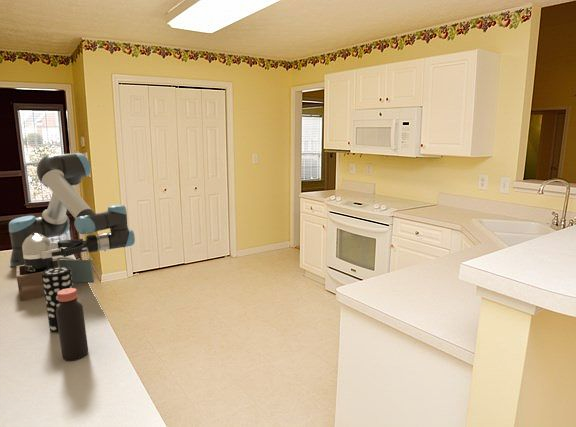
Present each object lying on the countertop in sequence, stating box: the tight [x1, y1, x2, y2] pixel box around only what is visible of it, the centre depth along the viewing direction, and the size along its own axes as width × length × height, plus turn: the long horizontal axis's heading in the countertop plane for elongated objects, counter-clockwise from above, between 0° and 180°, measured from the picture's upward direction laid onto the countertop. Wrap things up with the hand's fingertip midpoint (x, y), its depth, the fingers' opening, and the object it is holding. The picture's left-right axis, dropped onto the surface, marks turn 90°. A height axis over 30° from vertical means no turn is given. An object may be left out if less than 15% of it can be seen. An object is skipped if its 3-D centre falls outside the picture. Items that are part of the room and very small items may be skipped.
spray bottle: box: [22, 232, 54, 274], centre depth 165 cm, size 10×10×25 cm
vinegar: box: [56, 287, 89, 362], centre depth 115 cm, size 7×7×20 cm
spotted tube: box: [42, 266, 74, 334], centre depth 133 cm, size 8×8×20 cm
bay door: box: [58, 258, 95, 284], centre depth 176 cm, size 16×1×10 cm, turn 79°
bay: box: [15, 259, 59, 302], centre depth 166 cm, size 16×15×10 cm
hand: (40, 251), depth 165 cm, fingers open, 13 cm apart
